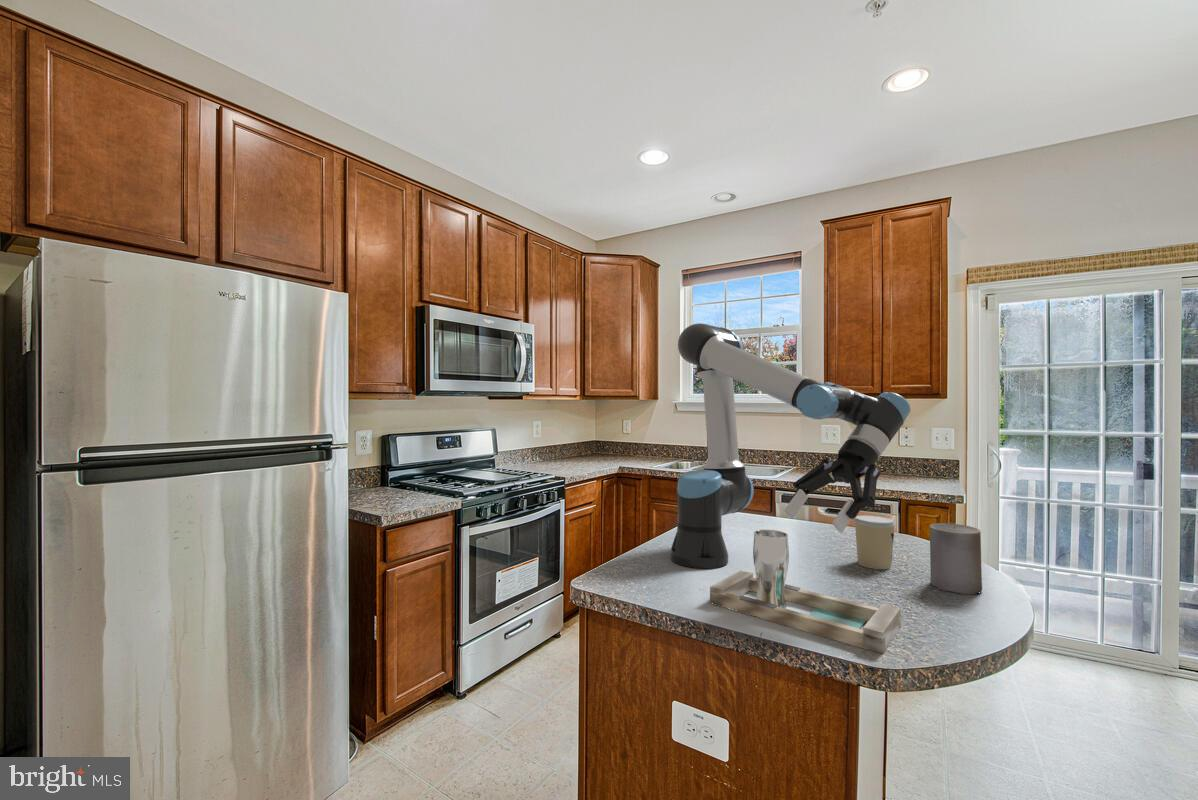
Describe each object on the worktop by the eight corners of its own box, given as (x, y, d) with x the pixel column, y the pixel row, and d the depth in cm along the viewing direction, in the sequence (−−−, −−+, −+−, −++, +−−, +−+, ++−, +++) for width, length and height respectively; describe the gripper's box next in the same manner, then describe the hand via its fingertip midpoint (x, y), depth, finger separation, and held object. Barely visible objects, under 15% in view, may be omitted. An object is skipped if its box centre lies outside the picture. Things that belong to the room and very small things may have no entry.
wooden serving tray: (709, 603, 105) (709, 586, 105) (740, 585, 115) (740, 570, 115) (882, 654, 83) (882, 632, 84) (900, 626, 94) (900, 607, 94)
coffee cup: (902, 570, 127) (902, 523, 127) (865, 570, 127) (865, 522, 128) (882, 559, 137) (882, 515, 137) (847, 559, 137) (847, 514, 137)
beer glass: (751, 610, 101) (751, 535, 102) (754, 598, 108) (754, 527, 108) (788, 615, 99) (788, 539, 99) (789, 603, 105) (789, 531, 106)
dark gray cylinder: (960, 580, 121) (959, 517, 121) (993, 595, 111) (991, 526, 111) (920, 580, 120) (919, 517, 121) (949, 595, 111) (948, 527, 111)
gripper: (924, 466, 103) (871, 547, 97) (827, 455, 126) (779, 520, 120) (906, 441, 101) (850, 521, 95) (811, 434, 124) (761, 499, 118)
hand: (810, 521), depth 108 cm, fingers open, 13 cm apart
